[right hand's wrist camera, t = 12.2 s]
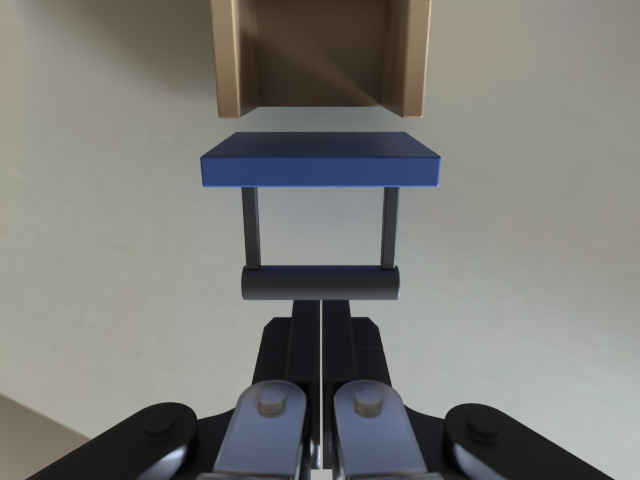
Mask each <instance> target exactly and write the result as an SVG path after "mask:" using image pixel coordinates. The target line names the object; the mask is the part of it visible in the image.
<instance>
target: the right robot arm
mask: <svg viewBox="0 0 640 480" xmlns="http://www.w3.org/2000/svg"><path fill="white" fill-rule="evenodd" d="M261 340H262V341H261V344H260V348H259V353H258V357H257V362H256V366H255V371H254V376H253V380H252V385H251V386H250V387H248V388H247V389H246V390H245V391H244V392H243V393H242V394H241V395H240V397H239V399H238V402H237V404H236V407H235V408H233V409H231V410H230V411H227V412H225V413H222V414H219V415H215V416H211V417H207V418H203V419H198V420H197V417H196V414H195V412H194V411H193V410H192V409H191V408H190V407H188V406H186V405H184V404H181V403H175V402H167V403H159V404H155V405H152V406H149V407H146V408H144V409H142V410H140V411H138V412H137V413H135V414H133V415H132V416H130V417H128V418H127V419H125V420H123V421H122V422H120V423H119V424H117V425H115V426H114V427H112V428H110V429H109V430H107V431H105V432H104V433H102V434H100V435H99V436H97V437H95V438H94V439H92V440H90V441H89V442H87V443H85V444H84V445H82V446H80V447H79V448H77V449H75V450H74V451H72V452H70V453H69V454H67V455H65V456H64V457H62V458H61V459H59V460H57V461H55V462H54V463H52V464H51V465H49V466H47V467H46V468H44V469H42V470H41V471H39V472H37V473H36V474H34V475H32V476H31V477H29V478H27V479H26V480H310V479H311V469H320V299H294V301H293V310H292V317H274V318H273V319H272V320H271V321H270V322H269V323H268V324H267V325H266V326H265V327H264V330H263V335H262V339H261ZM322 407H323V469H332V475H333V480H614V479H613V478H611V477H609V476H608V475H606V474H604V473H603V472H601V471H599V470H598V469H596V468H594V467H593V466H591V465H590V464H588V463H586V462H585V461H583V460H581V459H580V458H578V457H576V456H575V455H573V454H571V453H570V452H568V451H566V450H565V449H563V448H561V447H560V446H558V445H556V444H555V443H553V442H551V441H550V440H548V439H546V438H545V437H543V436H541V435H540V434H538V433H536V432H535V431H533V430H531V429H530V428H528V427H526V426H525V425H523V424H522V423H520V422H518V421H517V420H515V419H513V418H512V417H510V416H508V415H507V414H505V413H503V412H501V411H499V410H498V409H495V408H493V407H490V406H487V405H482V404H475V403H467V404H461V405H458V406H455V407H453V408H452V409H451V410H449V411H448V413H447V414H446V417H445V419H441V418H437V417H433V416H429V415H425V414H422V413H419V412H416V411H414V410H412V409H410V408H408V407H407V406H405V405H404V404H403V402H402V399H401V397H400V395H399V394H398V393H397V392H396V391H395V390H394V389H393V388H392V385H391V380H390V376H389V372H388V367H387V363H386V359H385V354H384V352H383V346H382V342H381V337H380V333H379V328H378V327H377V326H376V325H375V324H374V323H373V322H372V321H371V320H370V319H369V318H368V317H351V314H350V306H349V300H348V299H322Z"/></svg>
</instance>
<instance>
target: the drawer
mask: <svg viewBox="0 0 640 480" xmlns="http://www.w3.org/2000/svg"><path fill="white" fill-rule="evenodd" d="M210 8H211V21H212V35H213V48H214V61H215V75H216V88H217V101H218V115H219V118H240V117H241V116H243V115H245V114H247V113H249V112H251V111H252V110H254V109H256V108H258V107H377V106H382V107H384V108H386V109H387V110H389V111H391V112H393V113H395V114H397V115H399V116H401V117H403V118H421V117H422V116H423V106H424V93H425V80H426V67H427V53H428V40H429V27H430V13H431V0H210ZM200 161H201V172H202V183H203V186H204V187H242V202H243V219H244V235H245V251H246V265H245V266H244V267H243V271H242V279H241V289H242V296H243V299H244V300H294V299H320V300H322V299H348V300H397V299H398V297H399V293H400V275H399V269H398V267H397V266H396V265H395V255H396V239H397V223H398V206H399V190H400V187H437V186H438V185H439V177H440V166H441V157H440V156H439V155H438V154H436V153H435V152H433V151H432V150H430V149H429V148H427V147H426V146H424V145H423V144H422V143H420V142H419V141H417V140H416V139H414V138H413V137H411V136H410V135H408V134H407V133H406V132H236V133H234V134H233V135H231V136H230V137H228V138H227V139H226V140H224V141H223V142H221V143H220V144H218V145H217V146H216V147H214V148H213V149H211V150H210V151H208V152H207V153H206V154H204V155H203V156H201V158H200ZM257 187H384V202H383V222H382V242H381V262H380V264H381V265H261V255H260V235H259V215H258V194H257Z"/></svg>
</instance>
